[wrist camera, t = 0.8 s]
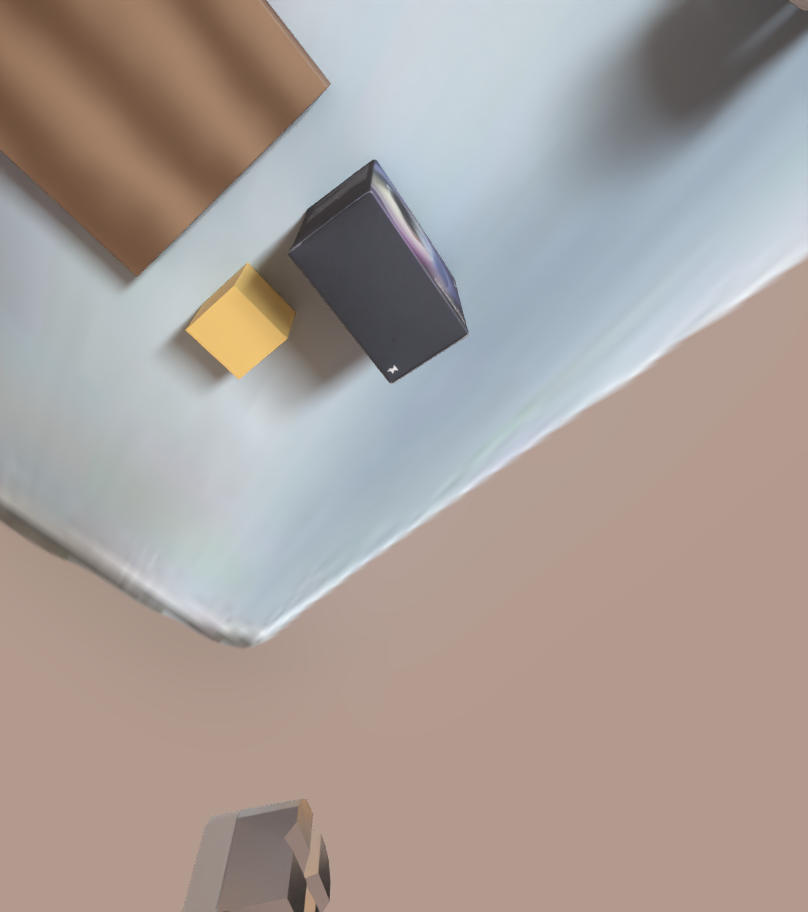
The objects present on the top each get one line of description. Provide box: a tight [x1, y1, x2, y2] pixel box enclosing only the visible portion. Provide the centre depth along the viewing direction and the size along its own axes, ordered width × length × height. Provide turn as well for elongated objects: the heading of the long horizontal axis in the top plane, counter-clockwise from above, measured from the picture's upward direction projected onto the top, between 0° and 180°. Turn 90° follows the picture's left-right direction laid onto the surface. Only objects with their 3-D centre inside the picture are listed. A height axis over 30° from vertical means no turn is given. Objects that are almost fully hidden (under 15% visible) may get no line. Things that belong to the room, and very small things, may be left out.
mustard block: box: [186, 263, 296, 379], centre depth 48 cm, size 5×5×5 cm
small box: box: [288, 160, 469, 383], centre depth 43 cm, size 11×6×10 cm, turn 35°
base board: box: [0, 0, 331, 276], centre depth 40 cm, size 18×18×3 cm
